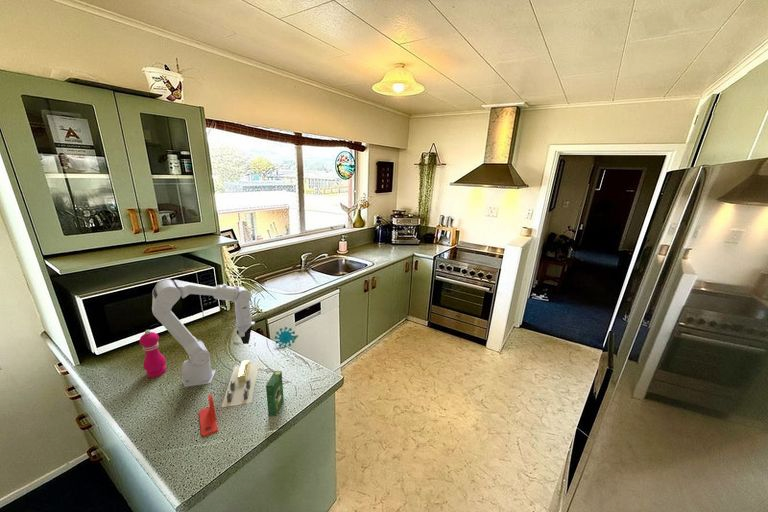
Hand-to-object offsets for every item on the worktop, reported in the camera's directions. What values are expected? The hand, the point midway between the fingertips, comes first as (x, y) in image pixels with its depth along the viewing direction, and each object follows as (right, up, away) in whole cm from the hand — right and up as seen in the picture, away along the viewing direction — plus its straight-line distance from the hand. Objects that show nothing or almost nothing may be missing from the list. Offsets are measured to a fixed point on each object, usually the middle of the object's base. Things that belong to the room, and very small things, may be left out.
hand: (246, 342), depth 127 cm
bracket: (+1, -19, -28) cm, 34 cm away
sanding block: (+2, -12, -6) cm, 13 cm away
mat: (+4, -13, -11) cm, 18 cm away
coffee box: (+21, -18, -21) cm, 35 cm away
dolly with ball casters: (+5, -15, -16) cm, 22 cm away
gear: (+12, -6, +16) cm, 21 cm away
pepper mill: (-34, -11, -7) cm, 36 cm away
